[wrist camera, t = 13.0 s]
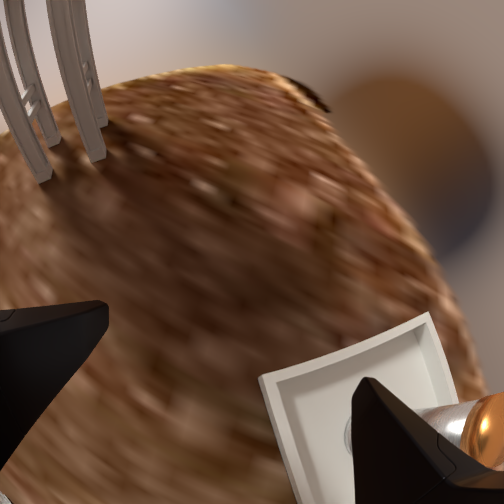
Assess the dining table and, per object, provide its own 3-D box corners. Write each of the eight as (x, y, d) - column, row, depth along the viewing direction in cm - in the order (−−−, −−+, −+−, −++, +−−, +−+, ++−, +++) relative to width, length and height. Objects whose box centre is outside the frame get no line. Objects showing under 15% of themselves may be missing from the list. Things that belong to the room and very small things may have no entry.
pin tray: (307, 533, 13) (317, 546, 10) (257, 378, 20) (261, 374, 18) (449, 453, 16) (468, 453, 13) (411, 321, 23) (428, 311, 21)
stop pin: (338, 464, 16) (452, 505, 4) (349, 396, 19) (473, 372, 7) (398, 459, 16) (520, 468, 4) (407, 397, 19) (531, 365, 7)
